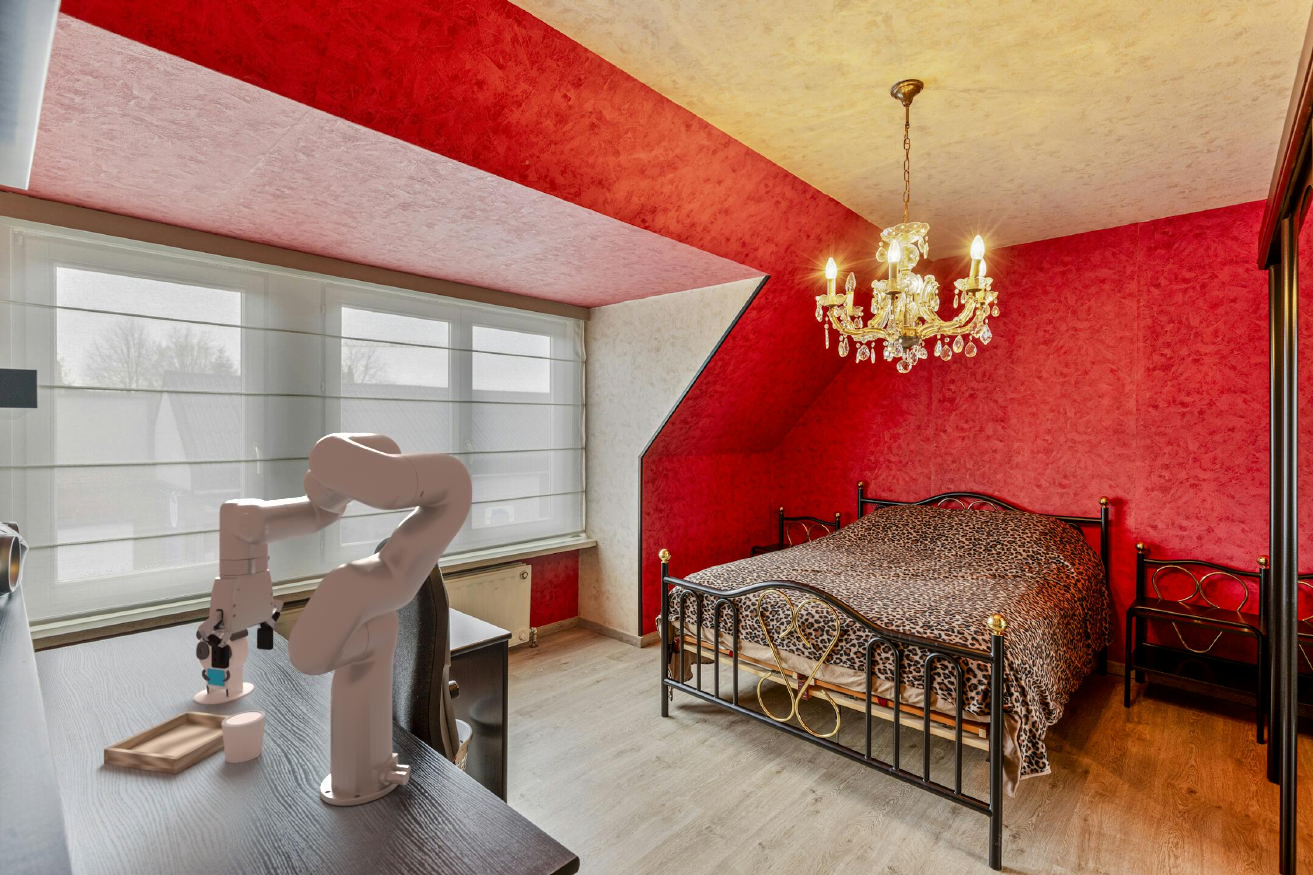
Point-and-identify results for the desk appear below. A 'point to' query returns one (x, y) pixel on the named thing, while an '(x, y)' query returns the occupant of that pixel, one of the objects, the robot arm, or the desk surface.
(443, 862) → the desk surface
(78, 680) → the desk surface
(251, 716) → the white cup
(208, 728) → the tray
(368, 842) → the desk surface
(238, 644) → the panda figurine
